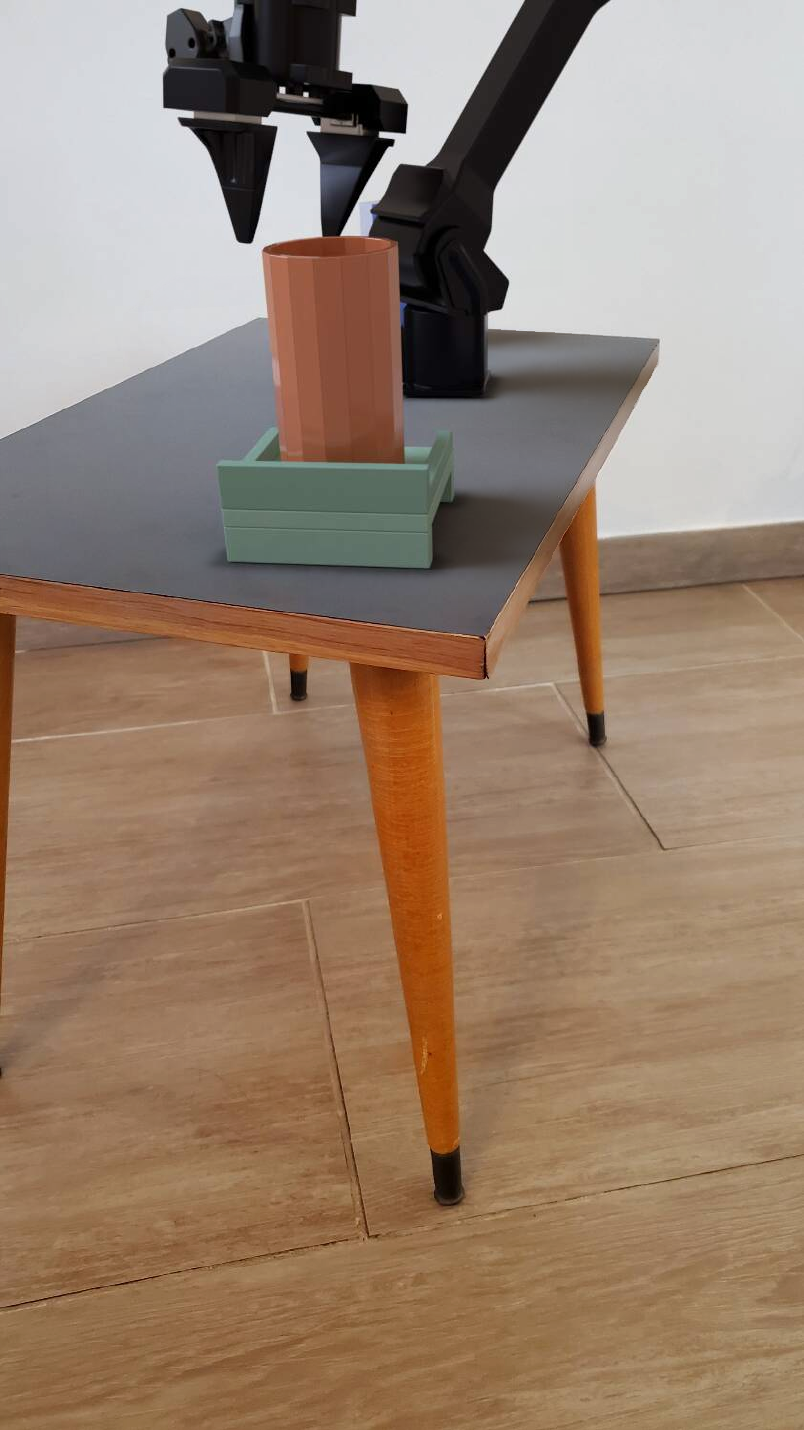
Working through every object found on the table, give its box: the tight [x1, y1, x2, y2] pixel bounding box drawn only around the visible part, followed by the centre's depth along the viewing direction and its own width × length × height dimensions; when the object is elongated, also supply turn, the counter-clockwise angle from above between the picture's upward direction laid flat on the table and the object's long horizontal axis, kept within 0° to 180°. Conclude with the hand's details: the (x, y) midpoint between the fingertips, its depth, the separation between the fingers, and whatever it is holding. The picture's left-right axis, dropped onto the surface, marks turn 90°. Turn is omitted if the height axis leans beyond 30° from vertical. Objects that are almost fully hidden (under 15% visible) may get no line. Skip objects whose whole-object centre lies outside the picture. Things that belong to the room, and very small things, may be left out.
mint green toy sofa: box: [215, 427, 455, 569], centre depth 62 cm, size 11×11×5 cm
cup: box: [261, 235, 405, 464], centre depth 59 cm, size 7×7×12 cm
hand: (289, 242), depth 76 cm, fingers open, 9 cm apart
